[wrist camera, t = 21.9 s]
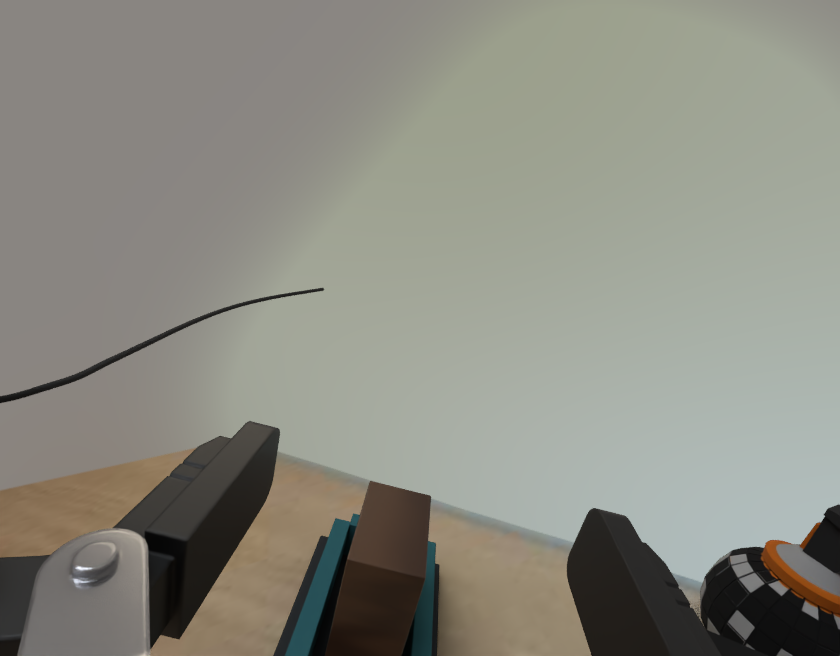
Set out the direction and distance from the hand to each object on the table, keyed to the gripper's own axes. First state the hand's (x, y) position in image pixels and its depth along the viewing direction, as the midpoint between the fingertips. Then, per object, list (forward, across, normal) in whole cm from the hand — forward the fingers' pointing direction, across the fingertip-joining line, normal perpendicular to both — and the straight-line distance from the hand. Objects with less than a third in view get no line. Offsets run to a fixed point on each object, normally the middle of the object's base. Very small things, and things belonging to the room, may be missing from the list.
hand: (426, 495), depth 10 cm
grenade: (+15, -31, +21) cm, 40 cm away
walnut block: (+10, 0, +20) cm, 23 cm away
